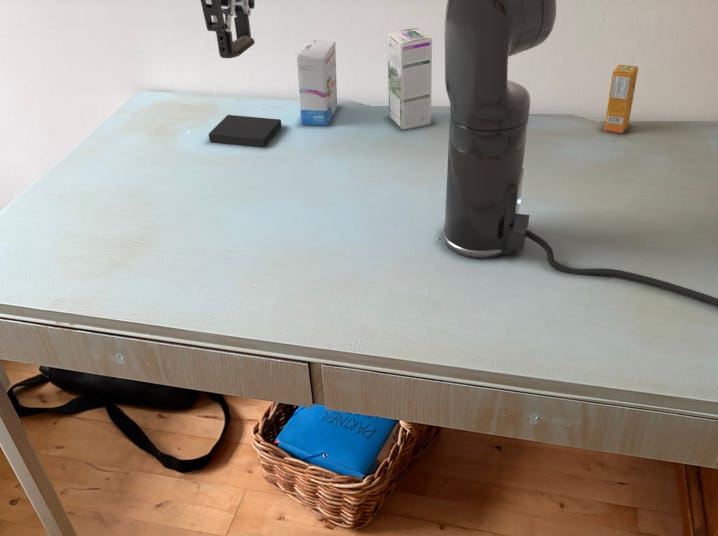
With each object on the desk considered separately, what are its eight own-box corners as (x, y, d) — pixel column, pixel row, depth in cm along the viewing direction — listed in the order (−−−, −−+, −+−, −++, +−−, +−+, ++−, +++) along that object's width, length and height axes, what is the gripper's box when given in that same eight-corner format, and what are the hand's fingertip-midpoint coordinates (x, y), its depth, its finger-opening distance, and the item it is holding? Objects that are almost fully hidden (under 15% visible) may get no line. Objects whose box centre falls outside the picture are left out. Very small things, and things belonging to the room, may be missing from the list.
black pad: (281, 127, 130) (280, 119, 129) (264, 147, 124) (263, 139, 123) (229, 122, 132) (227, 114, 131) (209, 142, 126) (208, 133, 125)
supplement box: (607, 123, 126) (619, 62, 119) (628, 126, 124) (641, 66, 118) (601, 130, 124) (613, 69, 117) (622, 134, 122) (635, 73, 116)
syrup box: (432, 124, 128) (434, 36, 119) (400, 130, 127) (400, 42, 117) (417, 112, 132) (419, 26, 123) (387, 118, 131) (386, 32, 121)
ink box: (328, 126, 129) (324, 56, 121) (300, 125, 130) (294, 55, 122) (339, 106, 135) (335, 39, 128) (312, 105, 136) (307, 38, 128)
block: (256, 48, 118) (255, 36, 117) (235, 61, 114) (234, 48, 113) (237, 45, 119) (235, 33, 118) (216, 58, 115) (214, 46, 114)
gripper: (222, -60, 99) (240, 67, 110) (263, -84, 109) (275, 35, 121) (171, -62, 101) (194, 64, 112) (216, -85, 111) (232, 32, 122)
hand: (236, 48), depth 116 cm, fingers closed on block, 6 cm apart
